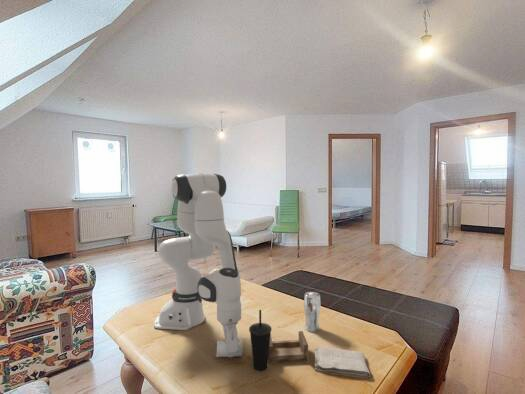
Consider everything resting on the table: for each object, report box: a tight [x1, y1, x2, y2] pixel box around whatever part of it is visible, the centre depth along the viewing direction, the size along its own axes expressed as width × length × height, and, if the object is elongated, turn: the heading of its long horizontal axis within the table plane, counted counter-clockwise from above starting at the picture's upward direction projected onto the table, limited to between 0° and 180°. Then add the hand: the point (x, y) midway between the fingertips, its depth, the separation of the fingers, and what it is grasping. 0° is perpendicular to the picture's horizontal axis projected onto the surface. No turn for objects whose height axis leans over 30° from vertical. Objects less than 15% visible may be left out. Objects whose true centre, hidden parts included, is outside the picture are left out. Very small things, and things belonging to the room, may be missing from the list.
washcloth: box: [314, 346, 371, 379], centre depth 97 cm, size 12×18×3 cm, turn 80°
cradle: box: [268, 330, 309, 364], centre depth 102 cm, size 14×9×6 cm, turn 94°
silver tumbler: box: [303, 291, 321, 333], centre depth 120 cm, size 7×7×15 cm
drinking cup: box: [248, 309, 272, 372], centre depth 95 cm, size 8×8×20 cm
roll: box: [216, 339, 243, 358], centre depth 102 cm, size 9×5×5 cm
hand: (229, 350), depth 102 cm, fingers closed on roll, 6 cm apart
